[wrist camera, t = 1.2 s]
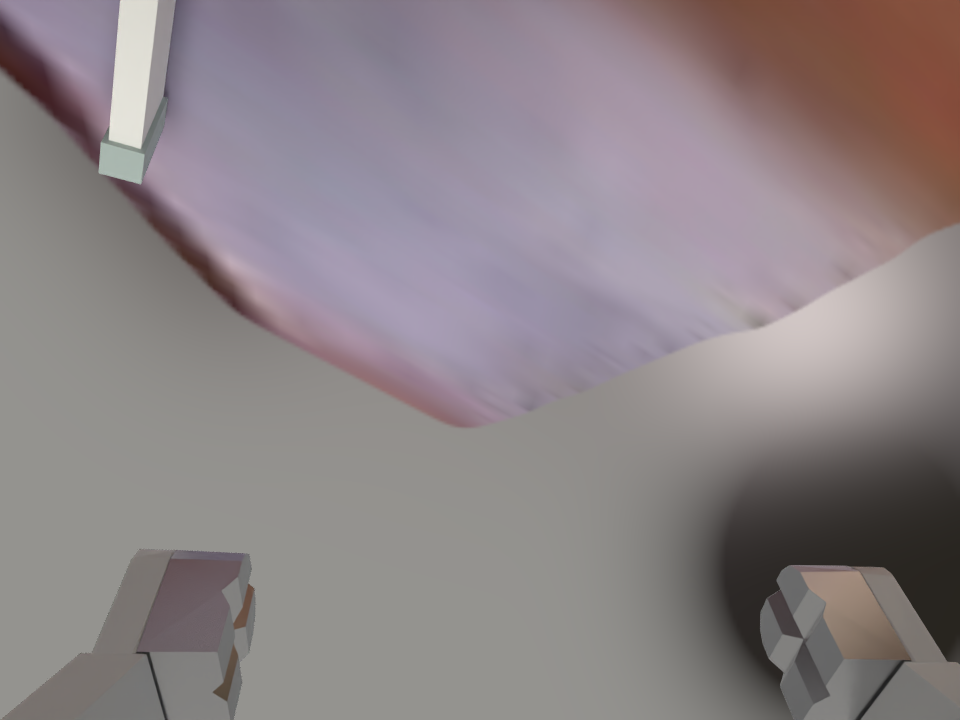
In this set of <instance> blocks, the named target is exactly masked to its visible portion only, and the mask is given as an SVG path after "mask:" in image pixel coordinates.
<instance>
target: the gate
mask: <svg viewBox="0 0 960 720" xmlns="http://www.w3.org/2000/svg"><path fill="white" fill-rule="evenodd" d="M175 4H176V0H120V9H119V21H118V33H117V45H116V57H115V69H114V81H113V93H112V105H111V117H110V126H109V128H108V130H107V132H106V134H105V136H104V138H103V139H102V141H101V150H100V163H99V173H100V174H104V175H108V176H112V177H115V178H119V179H123V180H127V181H131V182H134V183H138V184H141V183H142V181H143V178H144V176H145V173H146V171H147V168H148V166H149V163H150V161H151V158H152V156H153V153H154V150H155V148H156V145H157V143H158V140H159V138H160V135H161V133H162V130H163V128H164V124H165V117H166V109H167V102H168V98H166V97H163V95H164V88H165V80H166V72H167V65H168V57H169V49H170V42H171V34H172V27H173V19H174V11H175Z"/></svg>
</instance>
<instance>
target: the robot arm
mask: <svg viewBox="0 0 960 720" xmlns="http://www.w3.org/2000/svg"><path fill="white" fill-rule="evenodd" d="M251 570H252V567H251V561H250V556H249V554H243V553H224V552H223V553H222V552H204V551H183V550H155V549H139V551H138V552H137V553H136V554H135V555H134V557H133V558H132V559H131V561H130V564H129V566H128V568H127V571H126V573H125V575H124V578H123V580H122V582H121V585H120V587H119V590H118V592H117V594H116V597H115V599H114V601H113V604H112V606H111V608H110V611H109V613H108V615H107V618H106V620H105V622H104V625H103V627H102V630H101V632H100V634H99V637H98V639H97V641H96V644H95V646H94V648H93V651H92V653H80V654H79V655H77V657H75V658H74V659H73V660H71V661H70V662H69V663H68V664H67V665H66V666H64V667H63V668H62V669H61V670H59V671H58V672H57V673H56V674H55V675H53V676H52V677H51V678H50V679H49V680H48V681H46V682H45V683H44V684H43V685H42V686H40V687H39V688H38V689H37V690H36V691H34V692H33V693H32V694H31V695H30V696H28V697H27V698H26V699H25V700H24V701H22V702H21V703H20V704H19V705H18V706H16V707H15V708H14V709H13V710H12V711H10V712H9V713H8V714H7V715H6V716H5V717H3V718H2V719H1V720H234V716H235V711H236V707H237V703H238V698H239V694H240V690H241V686H242V677H241V671H240V661H242V659H243V658H245V657H246V656H247V655H248V653H249V651H250V646H251V641H252V636H253V630H254V622H255V605H256V604H255V603H256V602H255V590H254V588H253V587H252V586H251V585H250V584H249V583H248V582H249V578H250V574H251ZM777 582H778V584H779V586H780V589H781V590H780V591H778V592H776V593H775V594H773V595H771V596H770V597H768V598H767V600H766V602H765V604H764V606H763V609H762V611H761V618H760V631H761V636H762V641H763V645H764V647H765V650H766V653H767V655H768V658H769V659H770V660H771V661H772V662H773V663H774V664H775V665H776V666H777V667H779V668H780V669H781V670H782V671H783V672H784V674H783V678H782V681H781V685H780V687H781V690H782V692H783V694H784V697H785V699H786V701H787V704H788V706H789V709H790V711H791V714H792V716H793V718H794V720H960V665H959V664H958V663H957V662H947V661H946V659H945V658H944V656H943V654H942V653H941V651H940V650H939V648H938V647H937V645H936V644H935V642H934V640H933V639H932V637H931V636H930V634H929V632H928V631H927V629H926V627H925V626H924V624H923V623H922V621H921V620H920V618H919V616H918V615H917V613H916V612H915V610H914V609H913V607H912V605H911V604H910V602H909V601H908V599H907V597H906V596H905V594H904V593H903V591H902V589H901V588H900V586H899V585H898V583H897V582H896V580H895V578H894V577H893V576H892V574H891V573H890V572H888V571H887V570H886V569H885V568H881V567H880V568H879V567H848V566H802V565H800V566H799V565H790V566H788V567H786V568H785V569H783V570H782V571H781V573H780V575H779V577H778V579H777Z"/></svg>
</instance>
